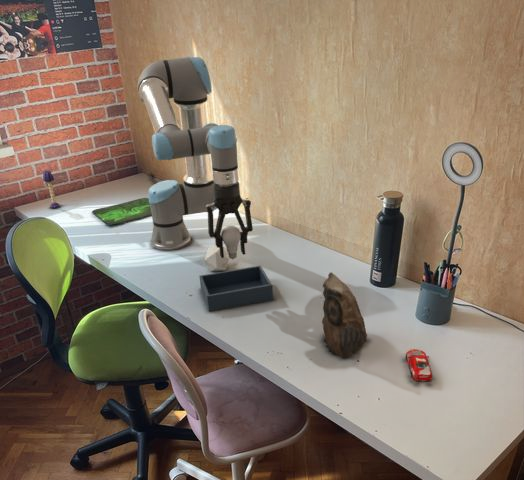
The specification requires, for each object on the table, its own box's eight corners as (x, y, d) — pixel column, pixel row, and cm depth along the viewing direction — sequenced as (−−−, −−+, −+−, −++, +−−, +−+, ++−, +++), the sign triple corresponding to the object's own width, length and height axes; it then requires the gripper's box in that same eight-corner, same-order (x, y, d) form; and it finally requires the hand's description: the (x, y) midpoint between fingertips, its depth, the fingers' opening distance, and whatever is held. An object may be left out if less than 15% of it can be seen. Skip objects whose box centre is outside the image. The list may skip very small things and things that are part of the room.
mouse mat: (146, 197, 266) (145, 195, 265) (167, 211, 250) (166, 209, 250) (90, 212, 254) (90, 210, 253) (109, 227, 239) (108, 225, 238)
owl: (344, 362, 154) (346, 298, 143) (307, 346, 161) (306, 284, 150) (369, 341, 162) (373, 279, 150) (332, 326, 169) (334, 266, 157)
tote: (201, 290, 191) (199, 275, 188) (261, 279, 195) (260, 265, 192) (209, 311, 180) (207, 296, 176) (273, 299, 183) (272, 284, 180)
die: (220, 278, 198) (234, 253, 196) (198, 266, 197) (211, 240, 195) (222, 275, 207) (235, 251, 204) (200, 263, 206) (213, 239, 203)
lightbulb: (245, 255, 181) (243, 223, 175) (238, 264, 177) (235, 231, 170) (227, 253, 183) (224, 221, 177) (220, 262, 178) (217, 229, 172)
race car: (403, 355, 156) (405, 343, 153) (423, 354, 155) (425, 342, 153) (411, 385, 145) (413, 372, 143) (433, 385, 145) (435, 372, 142)
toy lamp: (60, 204, 265) (51, 168, 255) (61, 207, 261) (52, 171, 252) (50, 206, 263) (40, 170, 254) (51, 209, 260) (41, 173, 250)
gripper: (196, 191, 161) (205, 264, 174) (261, 182, 164) (264, 254, 178) (192, 182, 167) (200, 254, 180) (254, 174, 170) (258, 244, 184)
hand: (232, 254), depth 179 cm, fingers closed on lightbulb, 6 cm apart
